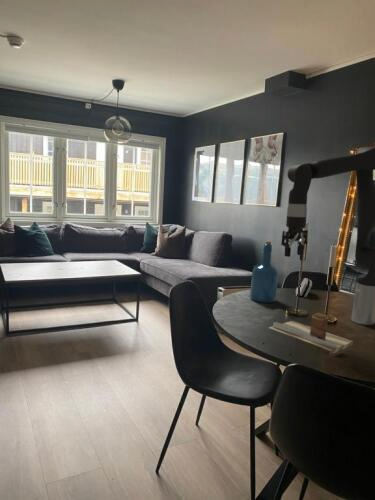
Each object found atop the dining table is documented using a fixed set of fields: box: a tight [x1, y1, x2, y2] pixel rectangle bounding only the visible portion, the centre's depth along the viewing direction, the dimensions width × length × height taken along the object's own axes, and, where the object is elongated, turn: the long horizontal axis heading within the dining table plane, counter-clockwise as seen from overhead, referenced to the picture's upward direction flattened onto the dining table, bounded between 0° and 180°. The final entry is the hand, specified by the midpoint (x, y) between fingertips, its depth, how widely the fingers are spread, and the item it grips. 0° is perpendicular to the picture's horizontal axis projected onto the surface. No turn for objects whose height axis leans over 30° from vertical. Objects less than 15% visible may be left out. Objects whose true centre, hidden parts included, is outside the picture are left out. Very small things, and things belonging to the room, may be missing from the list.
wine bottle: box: [249, 241, 279, 304], centre depth 193 cm, size 14×13×30 cm
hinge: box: [295, 277, 313, 298], centre depth 213 cm, size 17×5×10 cm, turn 165°
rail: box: [272, 321, 335, 349], centre depth 140 cm, size 2×25×2 cm, turn 41°
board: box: [268, 320, 354, 356], centre depth 144 cm, size 16×26×2 cm, turn 41°
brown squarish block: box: [310, 312, 329, 339], centre depth 139 cm, size 4×4×9 cm
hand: (293, 255), depth 155 cm, fingers open, 8 cm apart
